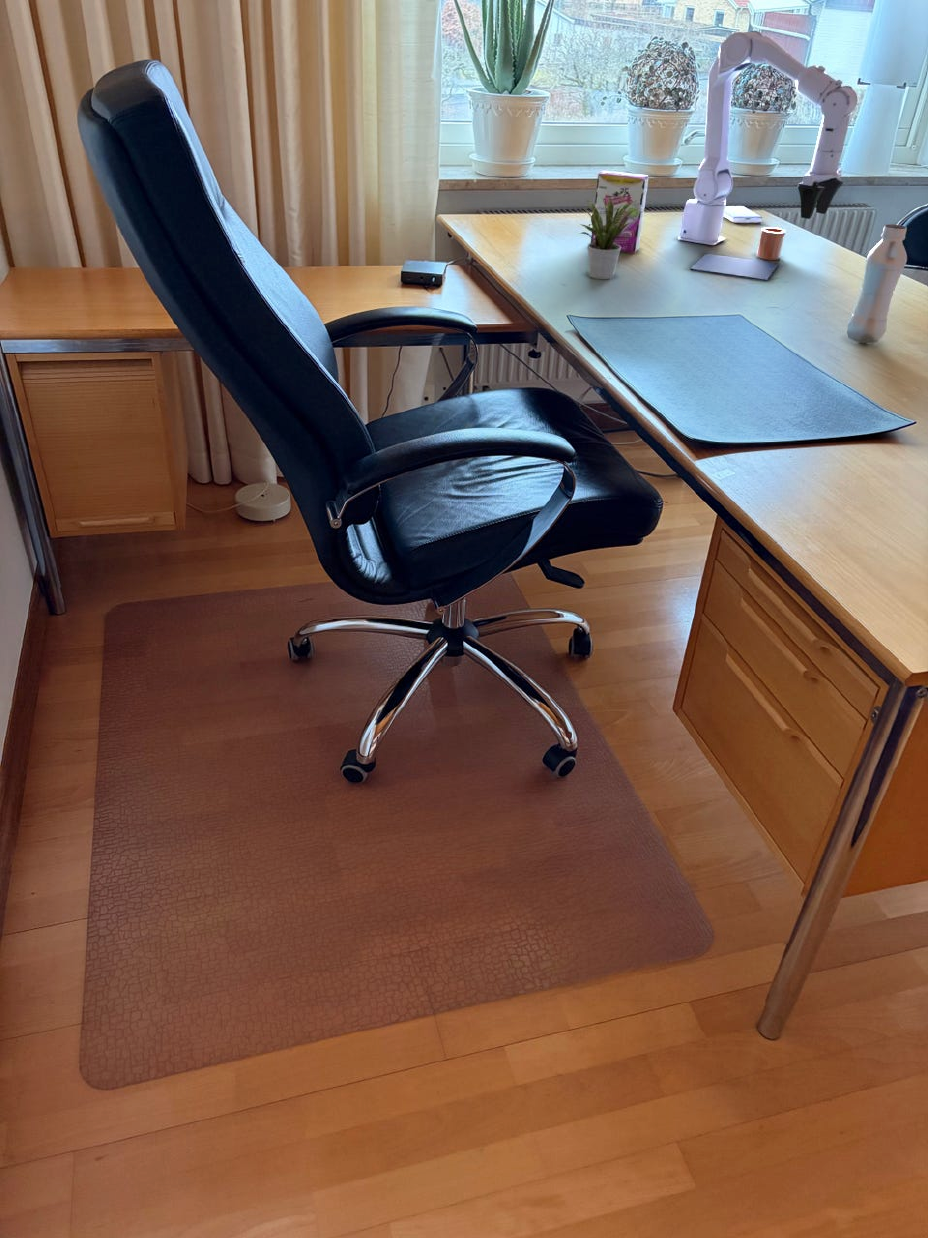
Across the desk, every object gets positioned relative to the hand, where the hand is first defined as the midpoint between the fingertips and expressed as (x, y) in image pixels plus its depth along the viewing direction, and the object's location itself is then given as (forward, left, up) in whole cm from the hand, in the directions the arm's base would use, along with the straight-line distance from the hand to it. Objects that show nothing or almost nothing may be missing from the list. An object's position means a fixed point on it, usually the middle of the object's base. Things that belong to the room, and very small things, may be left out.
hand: (813, 215), depth 210 cm
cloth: (-10, -18, -10) cm, 23 cm away
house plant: (-30, -43, -10) cm, 53 cm away
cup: (-7, -4, -10) cm, 13 cm away
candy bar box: (-39, -21, -10) cm, 45 cm away
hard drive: (-28, +32, -10) cm, 43 cm away
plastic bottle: (+27, -52, -10) cm, 59 cm away
